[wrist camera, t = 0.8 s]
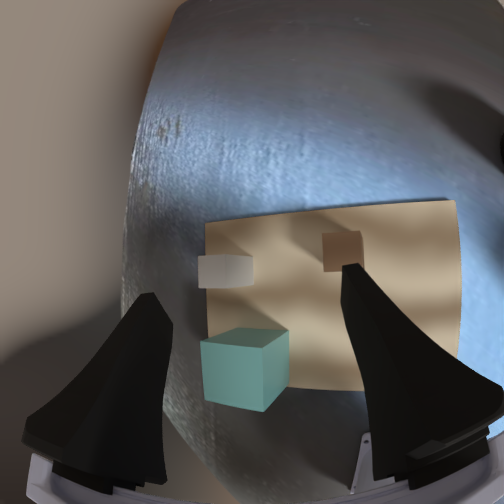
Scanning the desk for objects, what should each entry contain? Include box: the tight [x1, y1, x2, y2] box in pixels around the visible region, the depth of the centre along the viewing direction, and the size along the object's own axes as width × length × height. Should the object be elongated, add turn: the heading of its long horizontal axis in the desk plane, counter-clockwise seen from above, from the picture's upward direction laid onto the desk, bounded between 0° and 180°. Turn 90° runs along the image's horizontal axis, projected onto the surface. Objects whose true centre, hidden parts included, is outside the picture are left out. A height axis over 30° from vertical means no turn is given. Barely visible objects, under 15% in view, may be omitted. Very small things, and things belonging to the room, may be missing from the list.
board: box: [205, 200, 462, 391], centre depth 23 cm, size 16×24×1 cm, turn 92°
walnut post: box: [322, 230, 365, 272], centre depth 20 cm, size 3×3×5 cm
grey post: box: [198, 254, 254, 288], centre depth 24 cm, size 3×3×5 cm
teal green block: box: [200, 327, 289, 412], centre depth 22 cm, size 5×5×6 cm
